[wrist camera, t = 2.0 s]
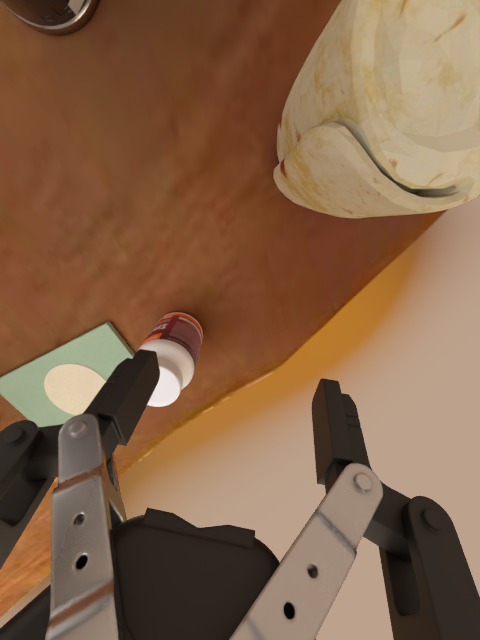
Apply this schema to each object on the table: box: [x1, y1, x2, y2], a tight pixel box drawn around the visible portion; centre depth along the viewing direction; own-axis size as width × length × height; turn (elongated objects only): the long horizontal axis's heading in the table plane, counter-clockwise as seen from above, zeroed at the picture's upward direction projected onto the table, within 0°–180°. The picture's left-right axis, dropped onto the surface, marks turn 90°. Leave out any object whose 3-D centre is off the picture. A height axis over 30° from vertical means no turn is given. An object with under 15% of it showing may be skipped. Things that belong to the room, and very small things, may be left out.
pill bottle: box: [138, 312, 203, 407], centre depth 29 cm, size 6×6×11 cm
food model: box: [274, 0, 480, 218], centre depth 17 cm, size 10×7×20 cm
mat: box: [0, 321, 135, 427], centre depth 37 cm, size 13×20×1 cm, turn 117°
